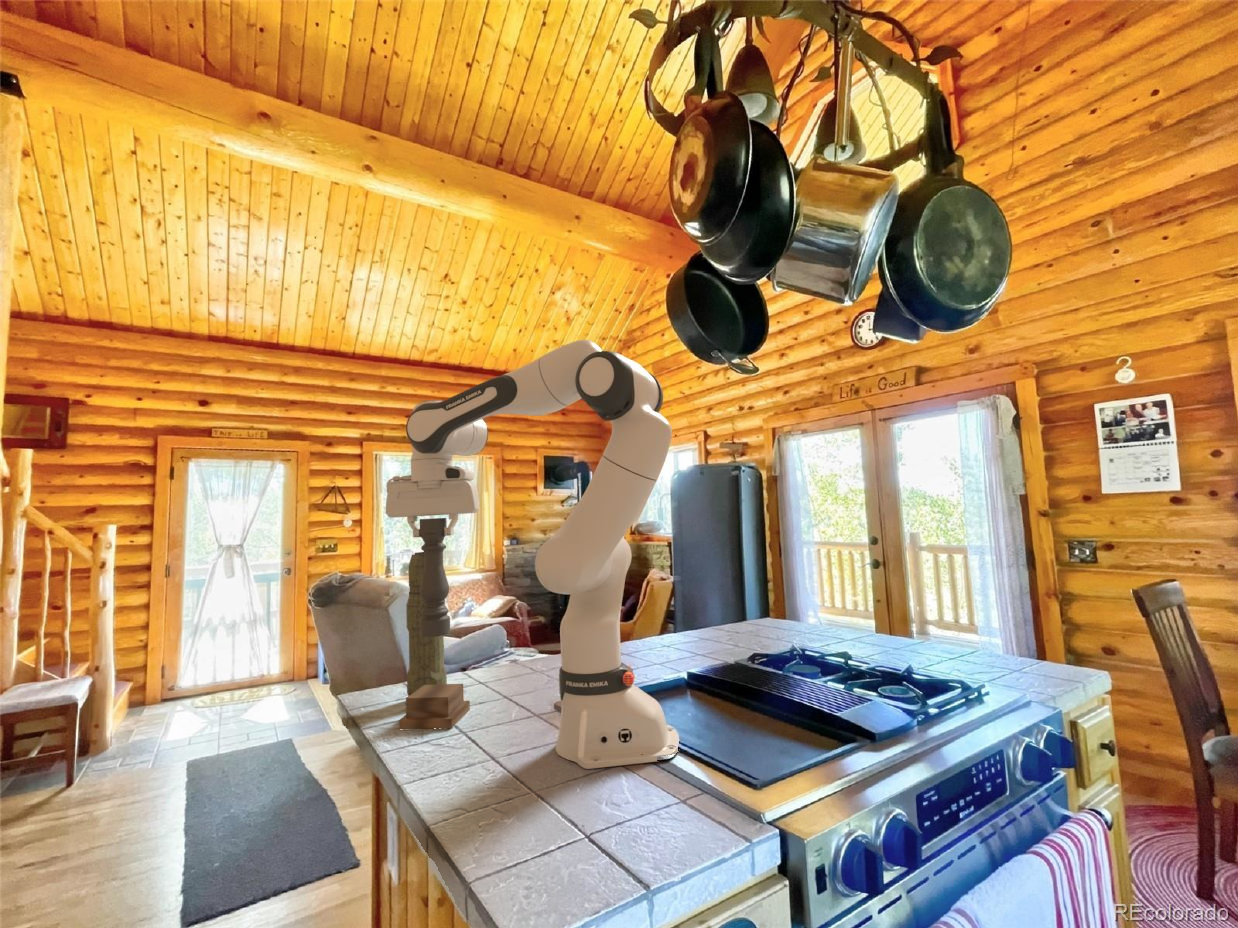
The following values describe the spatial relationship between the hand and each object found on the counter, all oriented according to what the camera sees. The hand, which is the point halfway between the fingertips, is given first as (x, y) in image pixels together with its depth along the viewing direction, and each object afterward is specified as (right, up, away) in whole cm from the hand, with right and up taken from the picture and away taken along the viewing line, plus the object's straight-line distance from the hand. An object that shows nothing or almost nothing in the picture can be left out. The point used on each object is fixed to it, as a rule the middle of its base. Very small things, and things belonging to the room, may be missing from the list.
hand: (433, 536), depth 121 cm
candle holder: (+1, -21, -2) cm, 21 cm away
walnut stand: (+2, -39, -4) cm, 39 cm away
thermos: (-4, -41, +9) cm, 42 cm away
